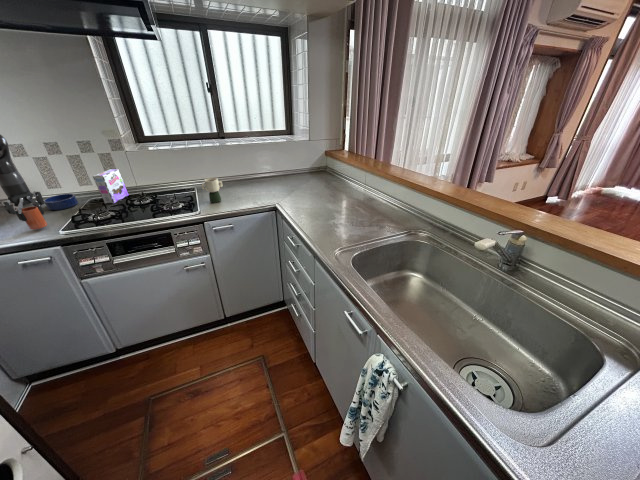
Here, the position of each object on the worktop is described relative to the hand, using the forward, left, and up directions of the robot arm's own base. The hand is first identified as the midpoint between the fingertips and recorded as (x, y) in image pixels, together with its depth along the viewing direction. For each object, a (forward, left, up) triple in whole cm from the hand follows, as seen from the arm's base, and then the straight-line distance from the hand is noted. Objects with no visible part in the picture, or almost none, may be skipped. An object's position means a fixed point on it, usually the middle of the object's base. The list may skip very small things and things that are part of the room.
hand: (33, 217), depth 123 cm
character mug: (+79, +10, -7) cm, 80 cm away
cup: (0, 0, -5) cm, 5 cm away
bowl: (-4, +31, -6) cm, 32 cm away
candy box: (+22, +33, -7) cm, 40 cm away
